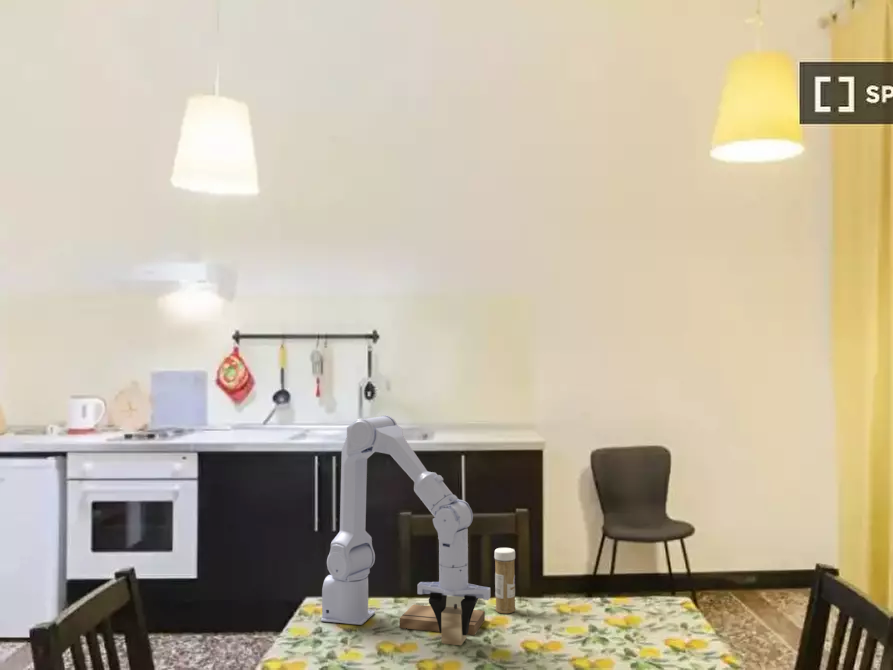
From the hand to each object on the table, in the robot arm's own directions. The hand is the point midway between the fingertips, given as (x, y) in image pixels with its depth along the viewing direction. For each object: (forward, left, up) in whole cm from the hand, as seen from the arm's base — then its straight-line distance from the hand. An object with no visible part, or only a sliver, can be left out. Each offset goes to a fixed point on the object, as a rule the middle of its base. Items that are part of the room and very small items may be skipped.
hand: (453, 632), depth 157 cm
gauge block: (0, 0, -2) cm, 2 cm away
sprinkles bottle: (+6, +20, -2) cm, 21 cm away
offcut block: (-3, +11, 0) cm, 11 cm away
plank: (-5, +9, -2) cm, 10 cm away
